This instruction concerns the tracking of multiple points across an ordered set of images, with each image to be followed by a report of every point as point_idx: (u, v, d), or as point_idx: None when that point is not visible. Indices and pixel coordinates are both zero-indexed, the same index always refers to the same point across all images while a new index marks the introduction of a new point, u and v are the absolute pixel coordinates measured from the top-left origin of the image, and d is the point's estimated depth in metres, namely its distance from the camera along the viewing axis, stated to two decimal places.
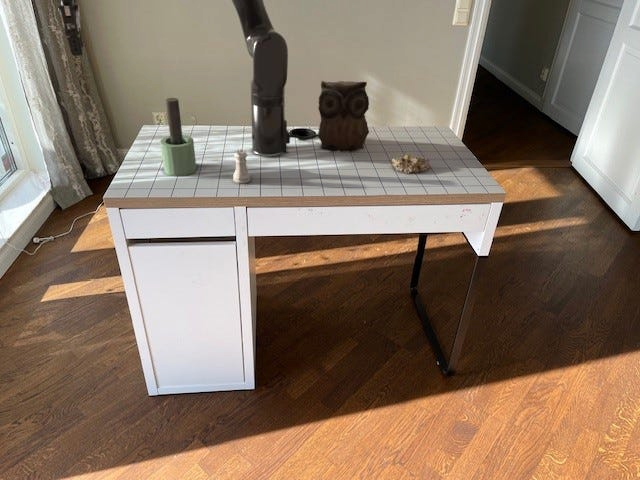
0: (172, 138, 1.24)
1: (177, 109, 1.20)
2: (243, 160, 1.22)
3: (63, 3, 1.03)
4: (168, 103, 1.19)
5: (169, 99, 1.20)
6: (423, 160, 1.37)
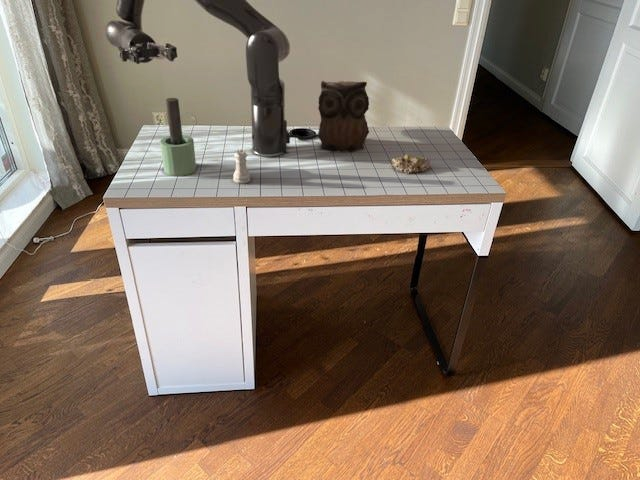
0: (172, 138, 1.24)
1: (177, 109, 1.20)
2: (243, 160, 1.22)
3: None
4: (168, 103, 1.19)
5: (169, 99, 1.20)
6: (423, 160, 1.37)
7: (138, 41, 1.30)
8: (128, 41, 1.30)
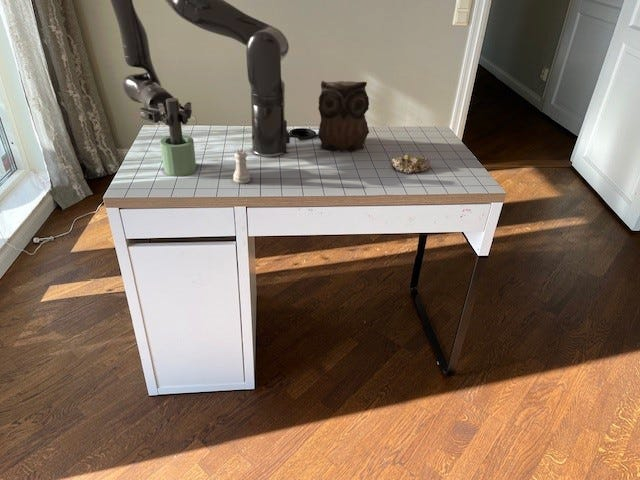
0: (172, 138, 1.24)
1: (177, 109, 1.20)
2: (243, 160, 1.22)
3: None
4: (168, 103, 1.19)
5: (169, 99, 1.20)
6: (423, 160, 1.37)
7: (158, 99, 1.27)
8: (148, 99, 1.27)
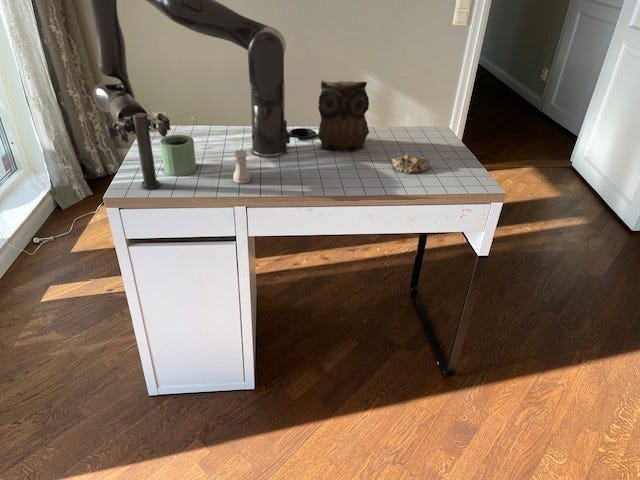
0: (141, 156, 1.15)
1: (145, 125, 1.12)
2: (243, 160, 1.22)
3: None
4: (135, 119, 1.10)
5: (137, 114, 1.11)
6: (423, 160, 1.37)
7: (127, 112, 1.19)
8: (116, 112, 1.19)
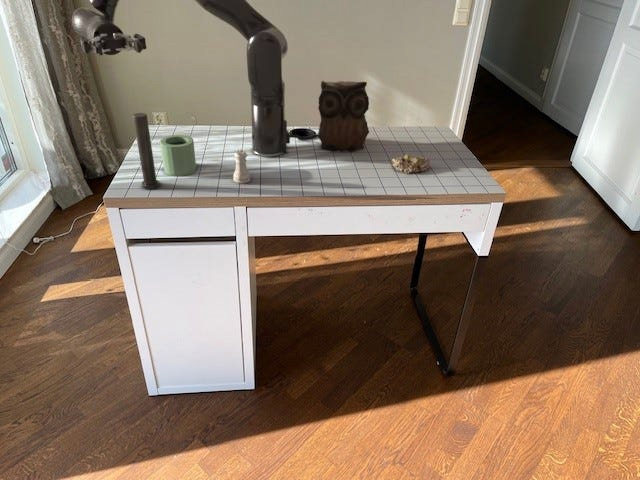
0: (141, 156, 1.15)
1: (145, 125, 1.12)
2: (243, 160, 1.22)
3: None
4: (135, 119, 1.10)
5: (137, 114, 1.11)
6: (423, 160, 1.37)
7: (103, 31, 1.19)
8: (93, 31, 1.19)
